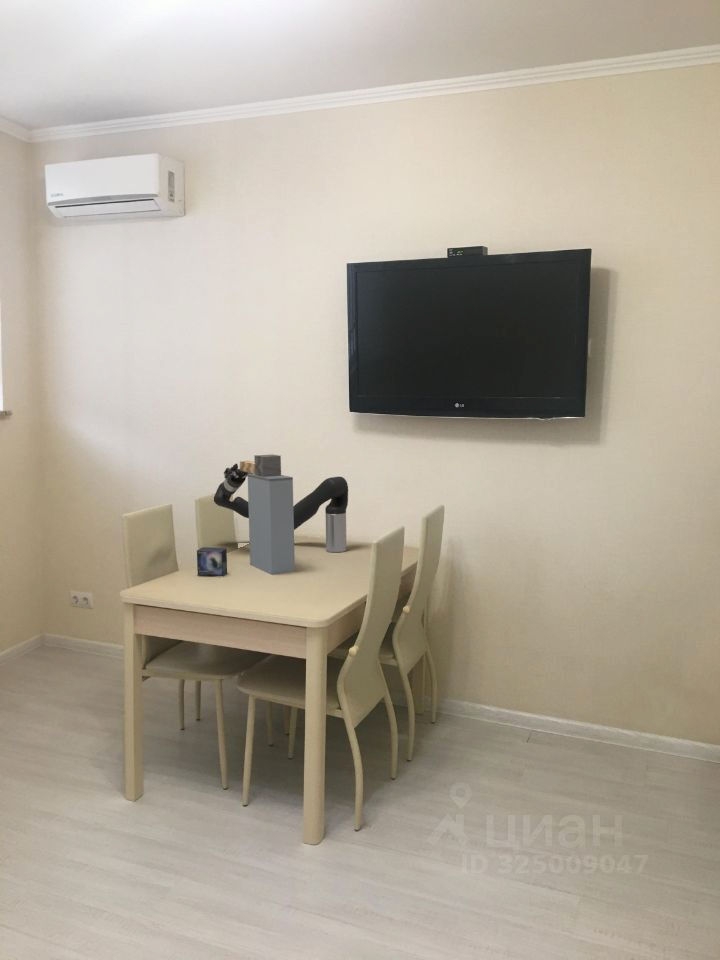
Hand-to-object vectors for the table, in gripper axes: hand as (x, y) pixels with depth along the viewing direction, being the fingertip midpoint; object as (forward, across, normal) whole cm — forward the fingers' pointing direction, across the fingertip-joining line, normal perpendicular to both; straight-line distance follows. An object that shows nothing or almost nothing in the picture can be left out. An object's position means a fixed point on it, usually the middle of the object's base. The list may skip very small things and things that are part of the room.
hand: (246, 464), depth 348 cm
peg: (+8, 0, -8) cm, 11 cm away
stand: (0, 0, -47) cm, 47 cm away
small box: (-2, +24, -46) cm, 52 cm away
